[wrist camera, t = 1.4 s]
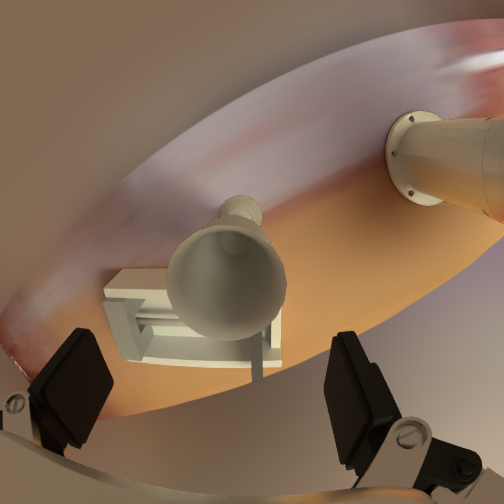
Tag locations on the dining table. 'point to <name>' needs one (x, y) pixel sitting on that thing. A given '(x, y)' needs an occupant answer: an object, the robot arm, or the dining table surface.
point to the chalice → (227, 275)
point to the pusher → (254, 343)
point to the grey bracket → (172, 328)
